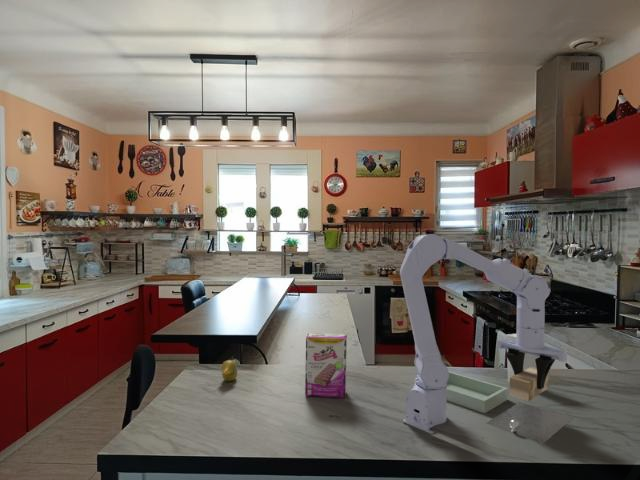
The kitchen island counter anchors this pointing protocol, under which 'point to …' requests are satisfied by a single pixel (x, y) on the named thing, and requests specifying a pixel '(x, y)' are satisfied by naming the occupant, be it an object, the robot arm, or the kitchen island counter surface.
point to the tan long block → (526, 384)
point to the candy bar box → (326, 365)
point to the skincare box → (528, 358)
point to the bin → (474, 393)
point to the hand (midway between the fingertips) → (529, 385)
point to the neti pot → (229, 370)
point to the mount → (530, 422)
